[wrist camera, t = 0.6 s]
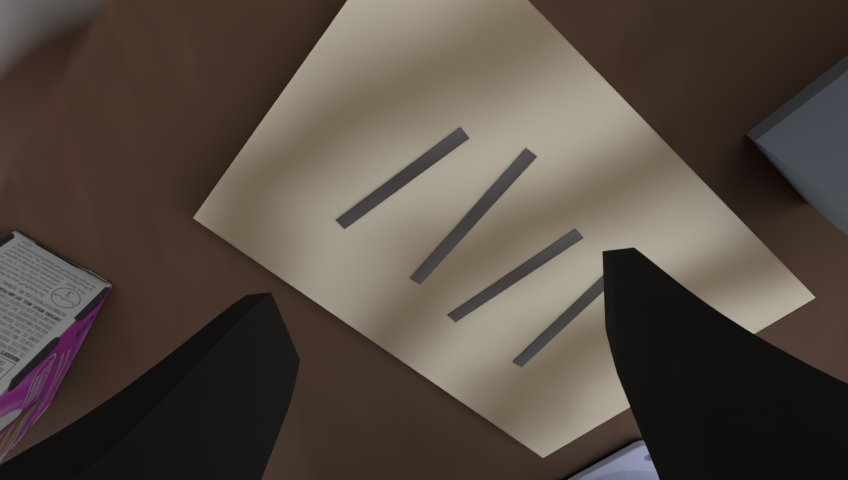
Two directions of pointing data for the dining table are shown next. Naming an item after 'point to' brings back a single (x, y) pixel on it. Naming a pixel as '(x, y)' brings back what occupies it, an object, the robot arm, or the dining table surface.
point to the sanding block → (813, 143)
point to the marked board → (480, 207)
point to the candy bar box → (39, 328)
